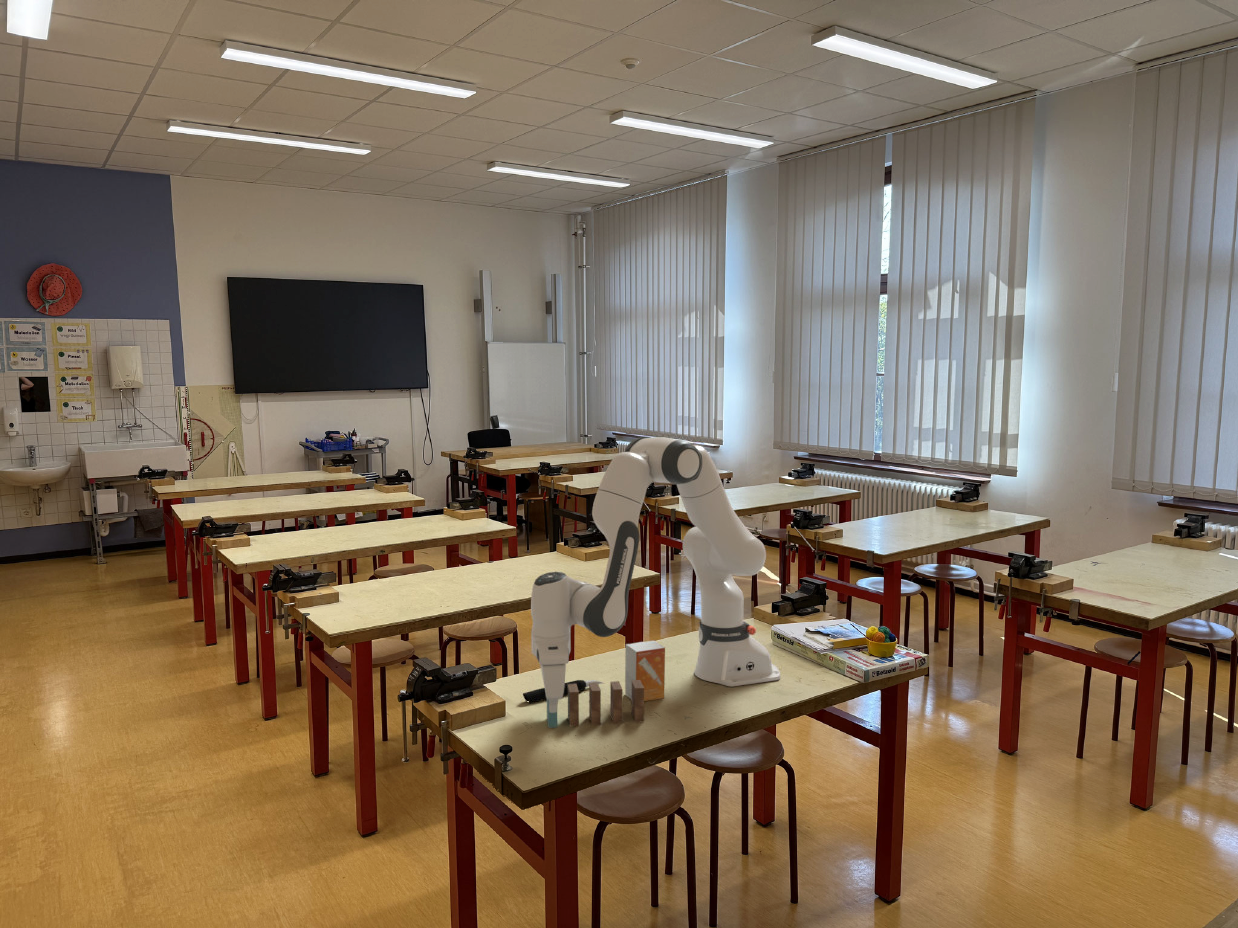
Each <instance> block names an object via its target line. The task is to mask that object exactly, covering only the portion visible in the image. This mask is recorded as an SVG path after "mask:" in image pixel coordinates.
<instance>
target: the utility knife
mask: <svg viewBox="0 0 1238 928" xmlns="http://www.w3.org/2000/svg"><path fill="white" fill-rule="evenodd" d="M597 682H598V685H600V684H602V685H605V682H603V681H601V680H597V679H596V680H594V679H593V680H592V679H591V680H590V679H589V680H588V679H587V680H583V679H575V680H572V681H568V682H565V685H564V694H563V696H565V695H567V696H568V684H577V688H578V691H579V692H581V691H583V690H584V689H586V688H589V683H597ZM522 695H523V698H524V700H525V702H527V701H529V703H528V704H531V703H535V702H540V700H541V701H544V699H545V700H547V698H546V693H545V687H541V688H538V689H534V690H531V691H526V692H523V693H522Z"/></svg>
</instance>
